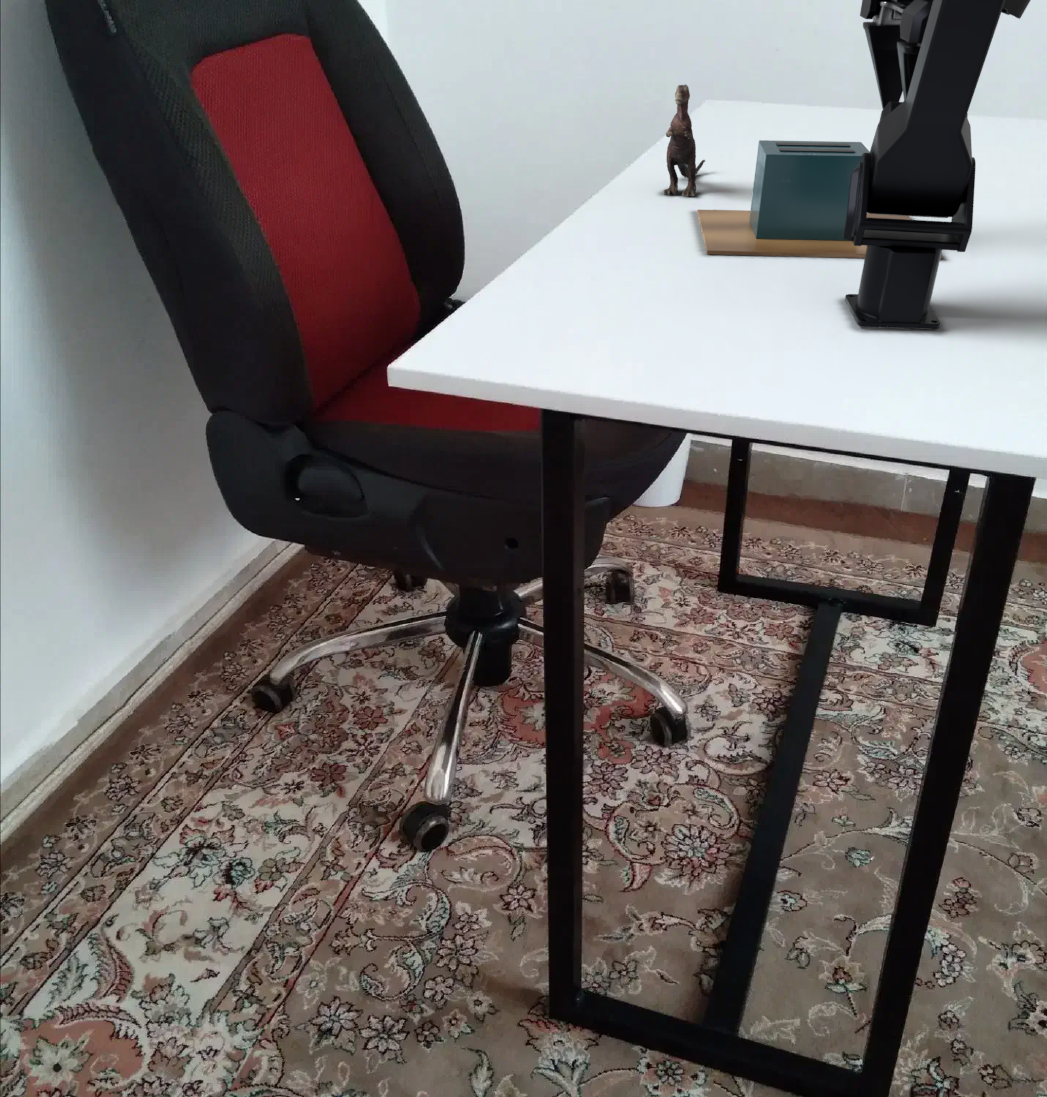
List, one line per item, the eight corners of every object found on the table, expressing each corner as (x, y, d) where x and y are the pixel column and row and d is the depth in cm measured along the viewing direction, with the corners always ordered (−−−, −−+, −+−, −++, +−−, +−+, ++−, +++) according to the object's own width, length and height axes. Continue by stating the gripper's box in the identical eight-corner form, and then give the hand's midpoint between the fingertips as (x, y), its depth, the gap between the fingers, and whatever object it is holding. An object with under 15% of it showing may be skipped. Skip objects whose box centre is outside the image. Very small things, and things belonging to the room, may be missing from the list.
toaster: (755, 239, 102) (766, 153, 97) (749, 221, 107) (758, 138, 102) (871, 241, 101) (887, 155, 96) (859, 223, 106) (874, 140, 101)
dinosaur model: (668, 84, 108) (691, 70, 120) (653, 200, 114) (677, 175, 126) (706, 88, 107) (726, 74, 119) (689, 204, 113) (709, 179, 125)
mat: (941, 259, 98) (941, 255, 97) (706, 254, 99) (707, 250, 99) (906, 217, 109) (906, 213, 109) (696, 213, 111) (697, 209, 110)
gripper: (1092, -83, 74) (1033, 146, 82) (1006, -91, 89) (963, 102, 98) (934, -84, 74) (891, 144, 83) (875, -92, 90) (844, 101, 98)
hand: (901, 121), depth 90 cm, fingers open, 9 cm apart
